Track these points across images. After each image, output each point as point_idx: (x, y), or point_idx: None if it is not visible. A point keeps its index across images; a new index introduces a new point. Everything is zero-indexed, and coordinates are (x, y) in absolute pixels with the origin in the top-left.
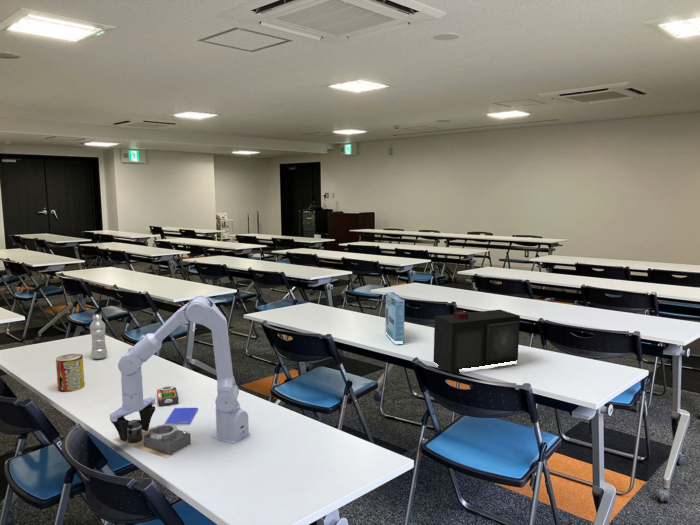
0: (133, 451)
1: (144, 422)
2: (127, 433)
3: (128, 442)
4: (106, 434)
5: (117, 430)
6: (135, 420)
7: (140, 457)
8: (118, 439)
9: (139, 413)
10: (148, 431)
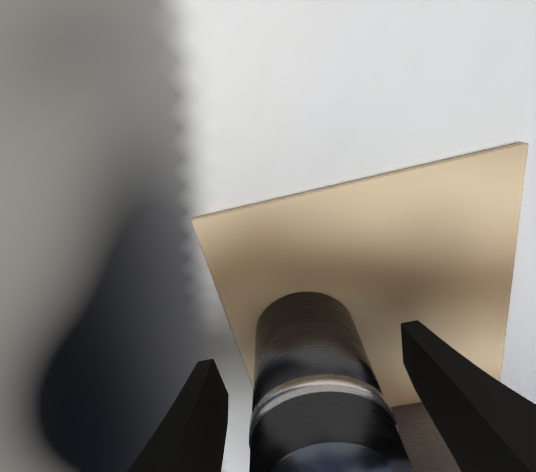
0: (235, 414)
1: (442, 411)
2: (253, 389)
3: (255, 337)
4: (188, 40)
5: (149, 448)
6: (370, 463)
7: (234, 469)
8: (225, 249)
9: (515, 454)
10: (444, 284)
